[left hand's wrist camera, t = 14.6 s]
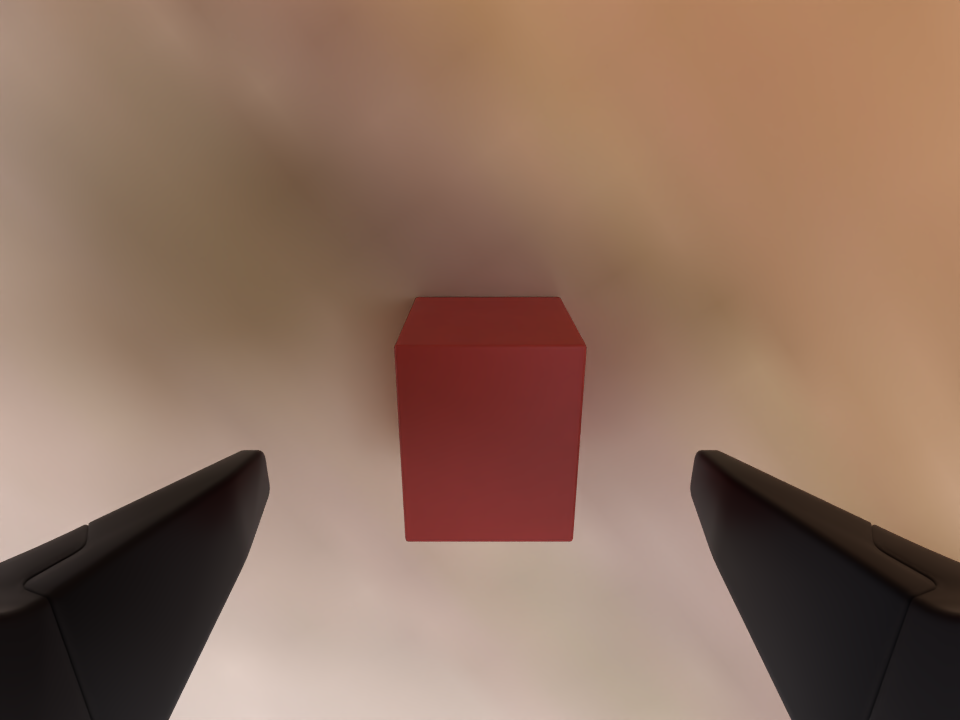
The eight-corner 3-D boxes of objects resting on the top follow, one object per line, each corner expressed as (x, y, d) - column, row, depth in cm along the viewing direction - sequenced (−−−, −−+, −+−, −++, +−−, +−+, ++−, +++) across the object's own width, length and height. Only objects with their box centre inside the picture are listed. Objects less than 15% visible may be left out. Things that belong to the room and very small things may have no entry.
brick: (552, 454, 17) (573, 543, 13) (422, 454, 17) (405, 542, 13) (560, 296, 15) (587, 345, 11) (415, 296, 15) (393, 345, 11)
